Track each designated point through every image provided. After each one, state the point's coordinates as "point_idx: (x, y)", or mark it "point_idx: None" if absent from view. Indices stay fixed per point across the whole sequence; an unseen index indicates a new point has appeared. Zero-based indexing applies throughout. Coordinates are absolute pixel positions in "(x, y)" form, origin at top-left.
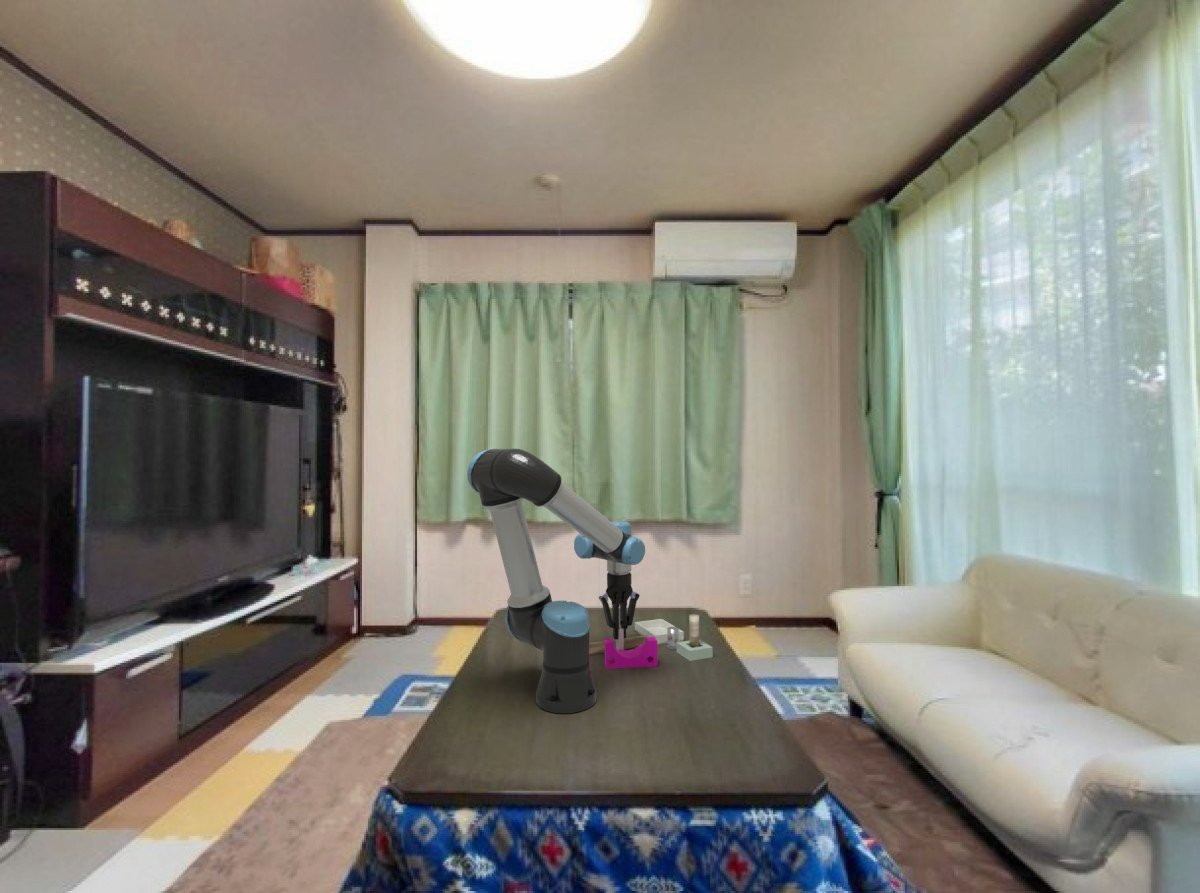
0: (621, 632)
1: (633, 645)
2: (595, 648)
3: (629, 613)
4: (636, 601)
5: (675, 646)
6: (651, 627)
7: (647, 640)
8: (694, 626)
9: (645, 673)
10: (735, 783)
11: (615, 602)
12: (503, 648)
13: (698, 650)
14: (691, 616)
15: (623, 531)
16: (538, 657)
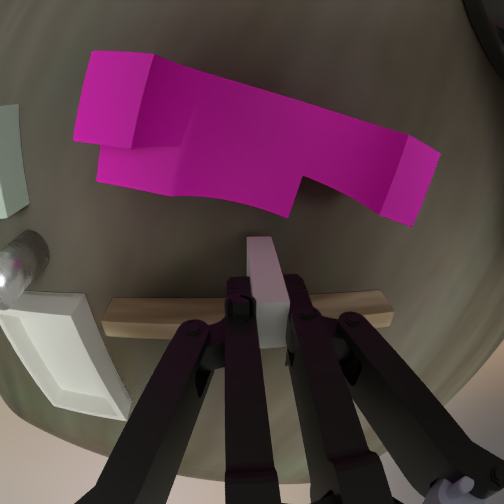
0: (268, 289)
1: (166, 304)
2: (339, 305)
3: (187, 403)
4: (96, 487)
5: (23, 235)
6: (84, 394)
7: (147, 81)
8: None
9: (236, 15)
10: None
11: (385, 494)
12: (467, 362)
13: None
14: None
15: None
16: (465, 306)
